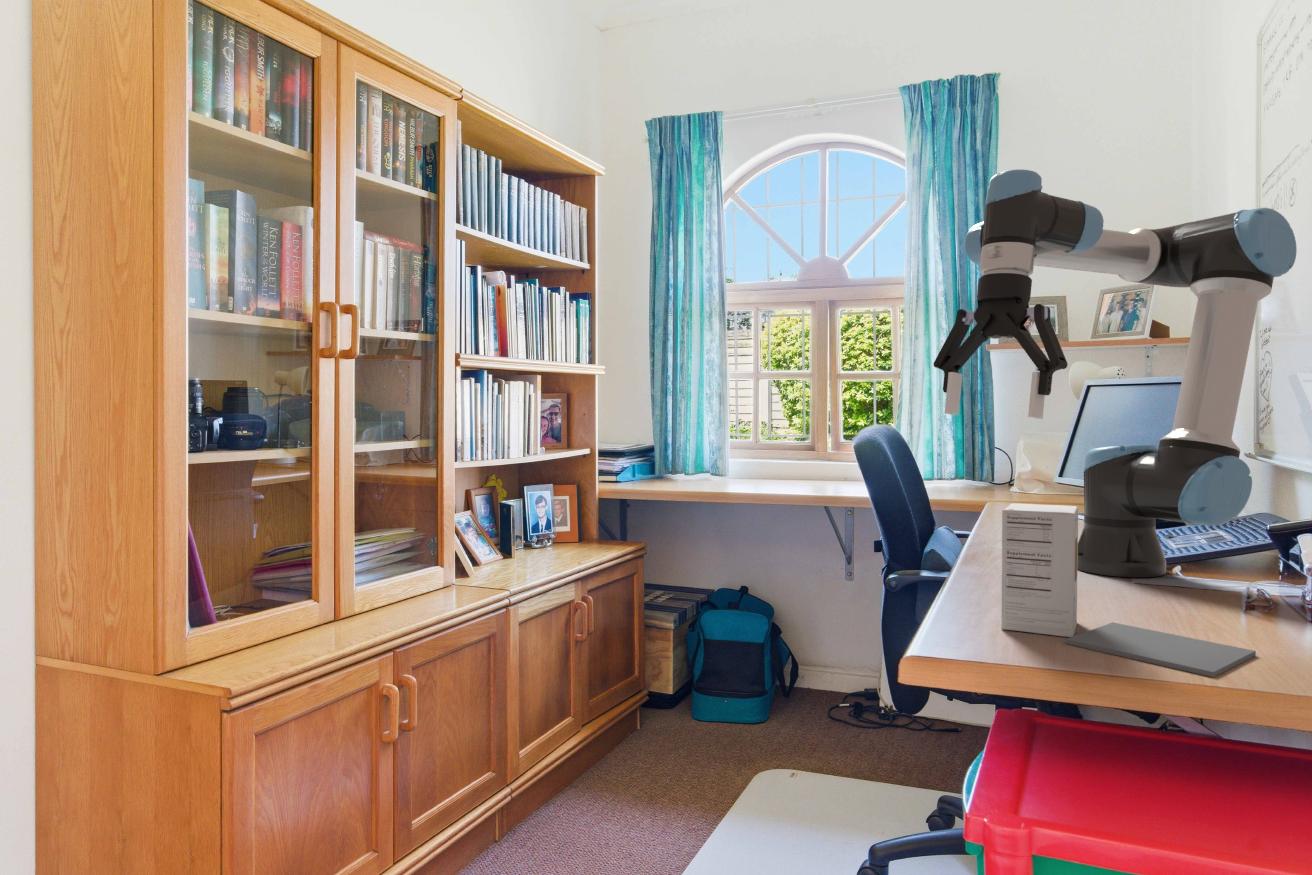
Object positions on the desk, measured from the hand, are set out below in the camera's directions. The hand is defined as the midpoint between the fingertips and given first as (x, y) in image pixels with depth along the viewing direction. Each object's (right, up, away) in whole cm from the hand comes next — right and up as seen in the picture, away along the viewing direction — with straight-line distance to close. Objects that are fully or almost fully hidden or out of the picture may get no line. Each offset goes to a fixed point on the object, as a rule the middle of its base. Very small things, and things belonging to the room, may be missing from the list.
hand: (991, 416), depth 126 cm
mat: (+13, -30, -20) cm, 39 cm away
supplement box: (+3, -30, -9) cm, 31 cm away
